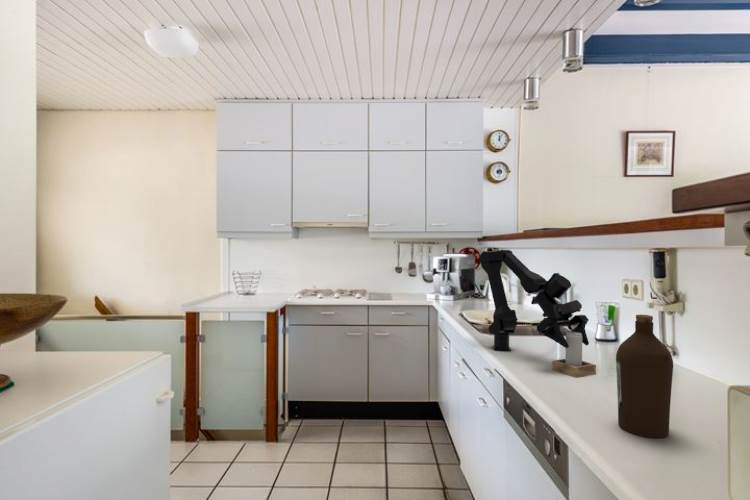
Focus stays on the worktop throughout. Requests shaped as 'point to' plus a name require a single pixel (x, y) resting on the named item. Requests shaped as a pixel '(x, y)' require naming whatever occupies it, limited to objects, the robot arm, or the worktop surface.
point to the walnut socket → (574, 368)
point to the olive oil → (644, 382)
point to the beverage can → (574, 349)
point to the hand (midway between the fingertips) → (577, 346)
